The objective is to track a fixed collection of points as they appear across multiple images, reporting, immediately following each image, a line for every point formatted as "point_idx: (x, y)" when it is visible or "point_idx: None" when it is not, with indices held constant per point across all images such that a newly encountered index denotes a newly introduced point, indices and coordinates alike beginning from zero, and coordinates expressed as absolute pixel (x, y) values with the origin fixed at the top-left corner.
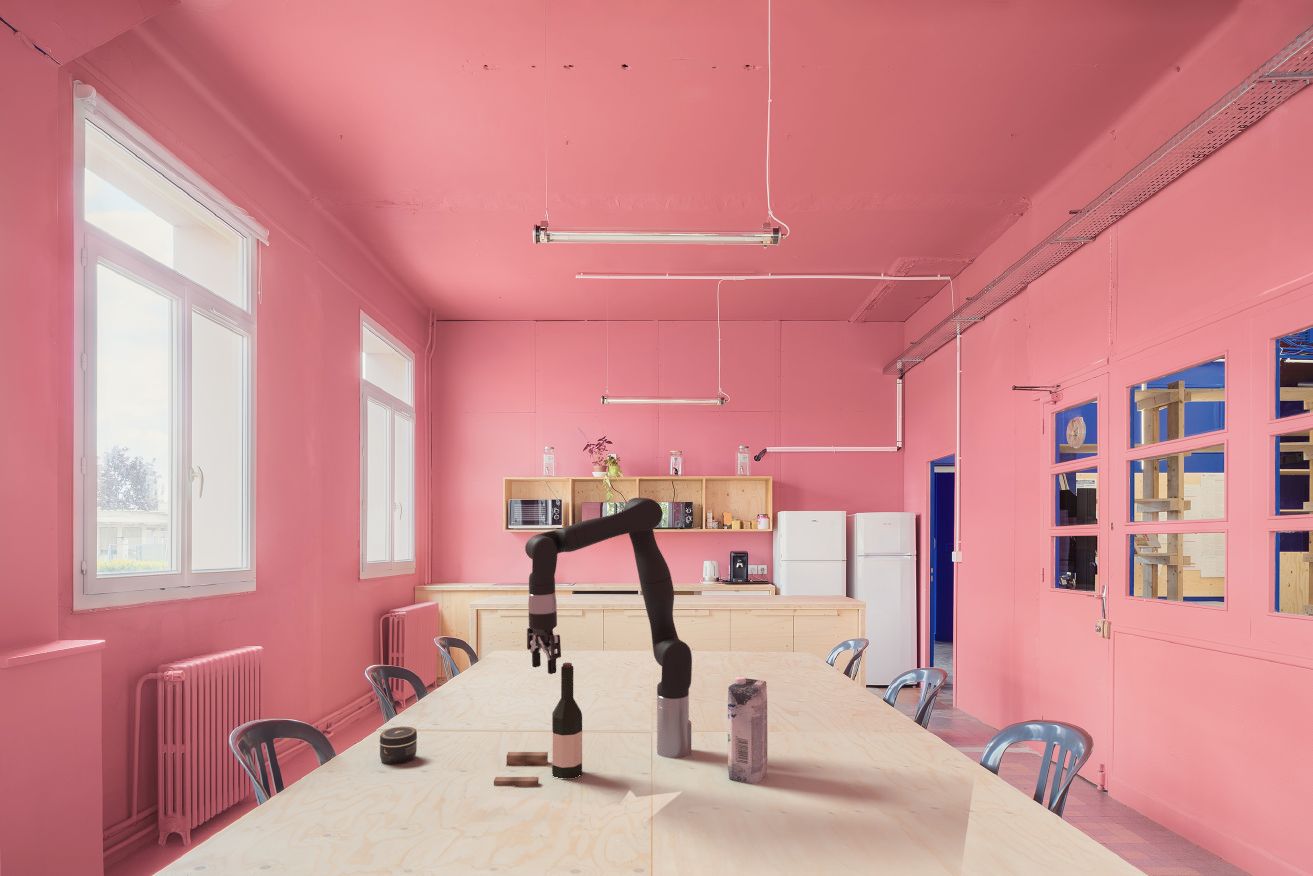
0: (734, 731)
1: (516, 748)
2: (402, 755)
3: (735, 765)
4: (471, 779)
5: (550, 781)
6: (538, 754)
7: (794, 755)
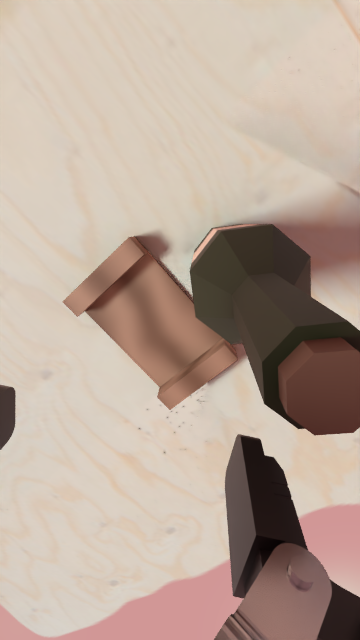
0: None
1: (10, 229)
2: None
3: None
4: (92, 387)
5: None
6: (125, 264)
7: None
